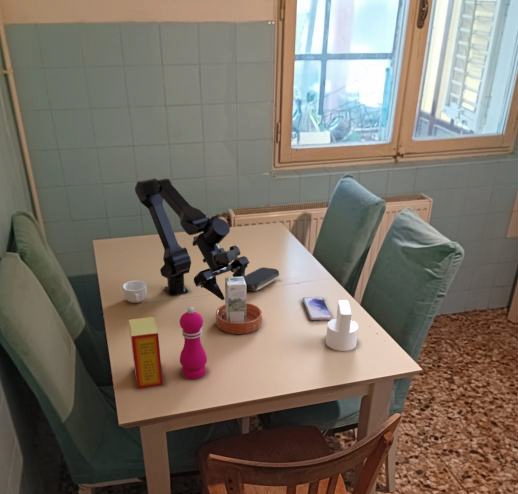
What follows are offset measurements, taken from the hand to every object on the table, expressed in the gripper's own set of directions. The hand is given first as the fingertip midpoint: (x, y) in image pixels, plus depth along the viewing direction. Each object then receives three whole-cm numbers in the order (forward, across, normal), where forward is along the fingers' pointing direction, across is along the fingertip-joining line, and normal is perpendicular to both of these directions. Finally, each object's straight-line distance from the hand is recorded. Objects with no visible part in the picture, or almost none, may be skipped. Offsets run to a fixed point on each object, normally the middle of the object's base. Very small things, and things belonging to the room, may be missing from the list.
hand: (234, 295), depth 174 cm
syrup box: (+7, -1, +6) cm, 9 cm away
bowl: (+8, 0, +5) cm, 10 cm away
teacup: (-16, -15, +30) cm, 37 cm away
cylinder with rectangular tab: (+29, +14, -15) cm, 36 cm away
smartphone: (+15, +25, -2) cm, 29 cm away
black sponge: (-4, +25, +17) cm, 30 cm away
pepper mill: (+16, -27, -3) cm, 32 cm away
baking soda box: (+12, -38, +2) cm, 39 cm away
